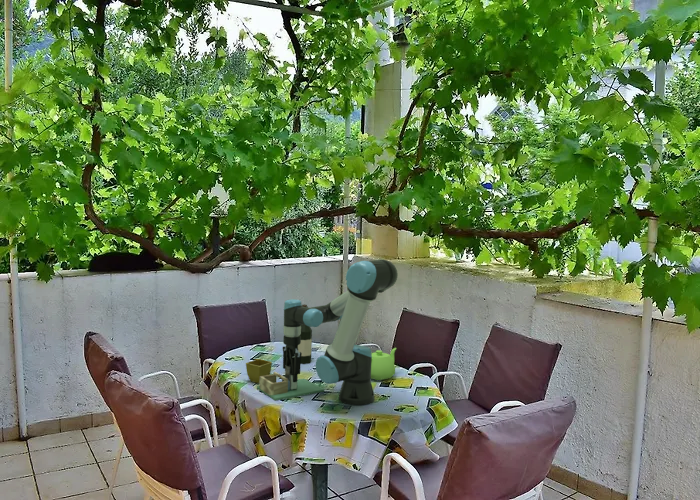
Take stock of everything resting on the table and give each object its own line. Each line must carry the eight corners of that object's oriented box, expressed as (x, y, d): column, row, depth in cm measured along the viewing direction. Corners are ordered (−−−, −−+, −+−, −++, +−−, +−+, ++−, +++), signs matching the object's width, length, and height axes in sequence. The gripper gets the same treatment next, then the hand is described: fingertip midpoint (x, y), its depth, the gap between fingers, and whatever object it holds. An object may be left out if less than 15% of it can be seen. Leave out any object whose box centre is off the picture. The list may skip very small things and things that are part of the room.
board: (324, 391, 261) (324, 389, 261) (275, 400, 248) (275, 398, 248) (304, 380, 276) (304, 378, 276) (256, 388, 263) (256, 386, 263)
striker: (297, 388, 260) (298, 366, 259) (287, 390, 257) (287, 368, 256) (292, 385, 264) (292, 363, 263) (282, 387, 261) (282, 365, 261)
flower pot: (259, 385, 267) (259, 366, 266) (245, 382, 272) (245, 362, 271) (272, 380, 275) (272, 361, 274) (257, 377, 279) (258, 358, 278)
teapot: (384, 369, 299) (385, 344, 297) (406, 376, 288) (407, 350, 287) (352, 377, 284) (353, 350, 282) (375, 385, 273) (376, 357, 272)
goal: (287, 393, 256) (288, 378, 255) (271, 396, 251) (271, 381, 251) (275, 385, 266) (275, 371, 265) (259, 388, 261) (259, 374, 261)
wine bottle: (314, 361, 309) (315, 304, 306) (304, 365, 302) (306, 307, 299) (301, 358, 313) (303, 302, 311) (291, 362, 306) (293, 305, 304)
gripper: (309, 338, 254) (308, 391, 256) (290, 330, 268) (289, 380, 270) (293, 340, 250) (292, 394, 252) (275, 332, 264) (274, 383, 266)
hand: (291, 387), depth 261 cm, fingers closed on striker, 4 cm apart
